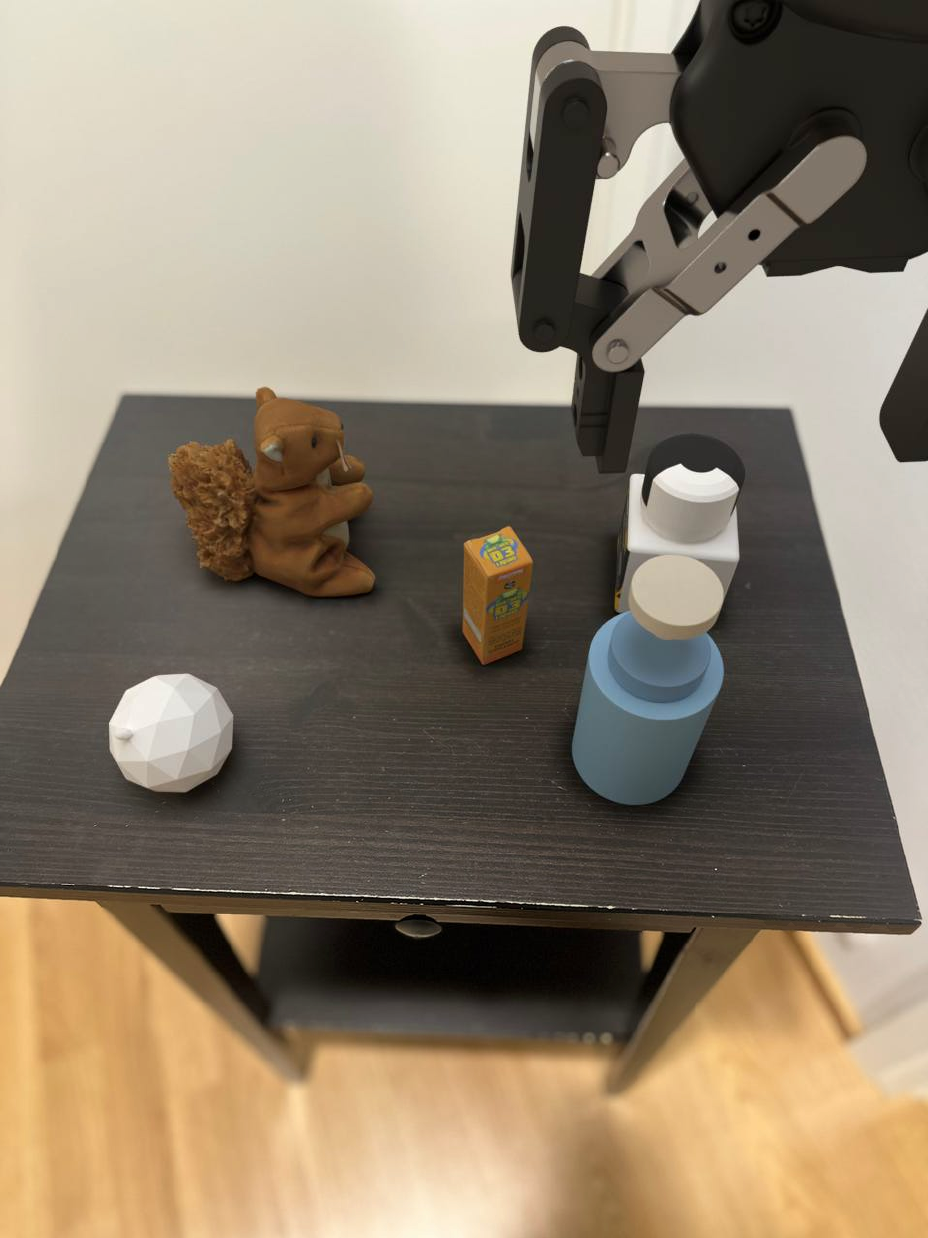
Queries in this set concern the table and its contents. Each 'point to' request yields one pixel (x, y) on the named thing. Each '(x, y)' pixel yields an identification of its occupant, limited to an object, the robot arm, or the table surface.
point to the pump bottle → (642, 710)
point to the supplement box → (495, 594)
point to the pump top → (675, 597)
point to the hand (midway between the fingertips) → (754, 448)
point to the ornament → (171, 733)
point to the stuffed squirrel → (278, 501)
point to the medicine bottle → (682, 510)
